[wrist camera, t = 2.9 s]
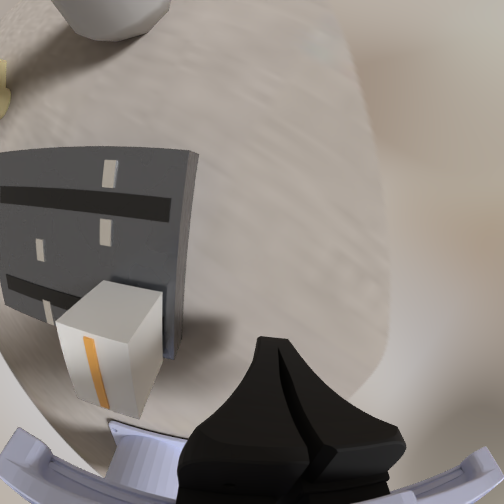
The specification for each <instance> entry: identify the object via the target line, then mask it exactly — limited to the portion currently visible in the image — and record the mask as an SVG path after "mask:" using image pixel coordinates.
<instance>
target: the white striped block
mask: <svg viewBox="0 0 504 504" xmlns="http://www.w3.org/2000/svg"><path fill="white" fill-rule="evenodd" d="M162 294H163V292H159V291H154V290H149V289H144V288H139V287H134V286H129V285H124V284H119V283H114V282H110V281H105V280H103V281H102V282H101V283H99V284H98V285H97V286H96V287H95V288H93V289H92V290H91V291H90V292H89V293H87V294H86V295H85V296H84V297H83V298H82V299H80V300H79V301H78V302H77V303H76V304H75V305H73V306H72V307H71V308H70V309H69V310H68V311H66V312H65V313H64V314H63V315H62V316H61V317H60V318H59V319H57V320H56V321H55V322H56V327H57V332H58V336H59V340H60V344H61V348H62V352H63V355H64V359H65V362H66V366H67V369H68V372H69V375H70V378H71V381H72V384H73V387H74V390H75V393H76V396H77V398H79V399H81V400H84V401H86V402H89V403H91V404H94V405H97V406H99V407H102V408H105V409H108V410H111V411H114V412H117V413H120V414H123V415H126V416H130V417H133V418H136V419H140V417H141V415H142V412H143V409H144V407H145V404H146V402H147V399H148V397H149V394H150V392H151V390H152V387H153V385H154V382H155V380H156V377H157V375H158V372H159V370H160V368H161V365H162V363H163V348H162Z"/></svg>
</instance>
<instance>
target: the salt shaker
mask: <svg viewBox="0 0 504 504" xmlns="http://www.w3.org/2000/svg"><path fill="white" fill-rule="evenodd" d="M51 1H52V2H53V4H54V5H55V6H56V8H57V9H58V10H59V12H60V13H61V14H62V16H63V17H64V18H65V20H66V21H67V22H68V24H69V25H70V26H71V28H72V29H73V30H74V32H75V33H76V34H79V35H81V36H84V37H87V38H90V39H93V40H96V41H113V42H119V41H122V40H125V39H128V38H132V37H135V36H138V35H142V34H145V33H148V32H149V31H150V30H151V28H152V27H153V26H154V25H155V24H156V23H157V22H158V21H159V20H160V19H161V18H162V17H163V16H164V15H165V13H166V12H167V11H168V10H169V7H170V3H171V0H51Z"/></svg>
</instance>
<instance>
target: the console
mask: <svg viewBox="0 0 504 504" xmlns="http://www.w3.org/2000/svg"><path fill="white" fill-rule="evenodd" d="M198 157H199V154H197V153H195V152H192V151H189V150H177V149H164V148H146V147H115V146H86V147H57V148H41V149H29V150H19V151H10V152H2V153H0V282H1V287H2V292H3V297H4V301H5V305H7V306H9V307H11V308H13V309H15V310H17V311H20V312H22V313H24V314H26V315H29V316H31V317H34V318H36V319H38V320H41V321H43V322H46V323H48V324H51V325H53V326H56V322H55V321H56V320H57V319H59V318H60V317H61V316H62V315H63V314H64V313H65V312H66V311H68V310H69V309H70V308H71V307H72V306H73V305H75V304H76V303H77V302H78V301H79V300H80V299H82V298H83V297H84V296H85V295H86V294H87V293H89V292H90V291H91V290H92V289H93V288H95V287H96V286H97V285H98V284H99V283H101V282H102V281H103V280H105V281H110V282H114V283H119V284H124V285H129V286H134V287H139V288H144V289H149V290H154V291H159V292H163V294H162V348H163V358H168V359H173V360H174V358H175V356H176V353H177V350H178V348H179V345H180V342H181V340H182V322H183V302H184V285H185V271H186V259H187V247H188V237H189V227H190V218H191V209H192V200H193V192H194V185H195V177H196V170H197V163H198Z"/></svg>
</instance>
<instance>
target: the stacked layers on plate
mask: <svg viewBox="0 0 504 504" xmlns="http://www.w3.org/2000/svg"><path fill="white" fill-rule="evenodd" d="M10 99H11V92H10V90H9V89H8V88H6V61H5V60H2V59H0V120H1V119H2V118H3V116H4V115H5V113H6V111H7V109H8V107H9V104H10Z"/></svg>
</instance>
